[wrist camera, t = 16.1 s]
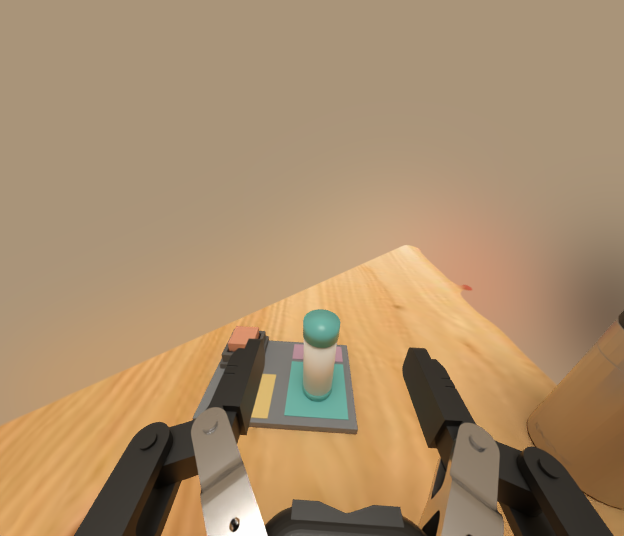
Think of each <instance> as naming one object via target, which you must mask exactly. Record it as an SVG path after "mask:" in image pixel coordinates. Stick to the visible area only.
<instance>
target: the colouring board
mask: <svg viewBox="0 0 624 536" xmlns="http://www.w3.org/2000/svg"><path fill="white" fill-rule="evenodd" d="M234 330H235V329H234ZM233 332H234V331H233ZM232 334H233V333H232ZM231 336H232V335H231ZM230 338H231V337H230ZM258 339H263V343H264V352H265V366H264V371H263V374H262V378H261V382H260V386H259V389H258V393H257V397H256V401H255V405H254V408H253V412H252V416H251V420H250V423H249V427H262V428H276V429H291V430H305V431H319V432H334V433H348V434H357V430H358V428H357V421H356V413H355V405H354V398H353V390H352V382H351V374H350V367H349V359H348V351H347V346H346V345H337V346H336V355H335V363H334V371H333V379H332V391H331V394H330V396H329V397H328V398H327V399H326V400H324V401H321V402H314V401H311V400H309V399H308V398H307V397H306V396H305V395H304V393H303V389H302V382H303V356H304V343H299V342H283V341H269V336H266V334H265V331H259V337H258ZM229 340H230V339H229ZM228 342H229V341H228ZM234 352H235V351H229V347H228V343H227V345H226V347H225V349H224V351H223V353H222V359H221V361H220V363H219V365H218V367H217V369H216V371H215V373H214V375H213V377H212V380H211V382H210V384H209V386H208V388H207V390H206V392H205V394H204V396H203V398H202V400H201V402H200V404H199V406H198V408H197V410H196V412H195V414H194V416H193V420H194V419H196V418H197V417H198V416H199V415H200V414H201V413H202V412H204V411H205V410H206V409H207V407H208V406H209V404H210V402H211V400H212V397H213V395H214V393H215V390H216V388H217V386H218V384H219V381H220V379H221V377H222V375H223V372H224V370H225V368H226V367H227V363H228V361H229V359H230V356H231V355H232V354H233V353H234Z"/></svg>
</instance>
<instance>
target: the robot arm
mask: <svg viewBox="0 0 624 536" xmlns="http://www.w3.org/2000/svg"><path fill="white" fill-rule="evenodd" d="M264 366H265V352H264V343H263V339H251V338H249V339H248V341H247V344H246V346H245V348H238V349H237V350H236V351H235V352H234V353H233V354H232V355H231V356H230V359H229V361H228V363H227V367H226V368H225V370H224V372H223V375H222V377H221V379H220V381H219V384H218V386H217V388H216V390H215V393H214V395H213V397H212V400H211V402H210V404H209V406H208V407H207V409H206V410H205V411H204V412H202V413H201V414H200V415H199V416H198V417H197V418H196V419H194V420H192V421H189V422H186V423H183V424H179V425H176V426H172V427H168V426H167V425H166V424H165V423H162V422H156V423H152V424H150V425H148V426H146V427H144V428H143V429H141V430H140V431H139V432H138V433H137V434H136V435H135V436H134V437H133V439H132V440H131V442H130V443H129V445H128V447H127V448H126V450H125V452H124V453H123V455H122V457H121V458H120V460H119V462H118V463H117V465H116V467H115V468H114V470H113V472H112V473H111V475H110V477H109V478H108V480H107V482H106V483H105V485H104V487H103V488H102V490H101V492H100V493H99V495H98V497H97V498H96V500H95V502H94V503H93V505H92V507H91V508H90V510H89V512H88V513H87V515H86V517H85V518H84V520H83V522H82V523H81V525H80V527H79V528H78V530H77V532H76V533H75V535H74V536H161V534H162V531H163V529H164V526H165V523H166V521H167V518H168V515H169V513H170V510H171V507H172V505H173V502H174V499H175V497H176V494H177V492H178V489H179V486H180V484H181V481H182V480H185V479H188V478H190V477H193V476H196V475H199V479H200V485H201V504H202V510H203V515H204V521H205V526H206V532H207V536H504V522H503V517H502V515H501V514H500V513H499V512H498V510H497V501H498V502H499V503H500V505H501V508H502V510H503V512H504V514H505V516H506V519H507V521H508V523H509V525H510V527H511V530H512V532H513V534H514V536H613V534H612V533H611V531H610V530H609V529H608V527H607V526H606V524H605V523H604V522H603V520H602V519H601V517H600V516H599V515H598V513H597V512H596V510H595V509H594V507H593V506H592V505H591V503H590V502H589V500H588V499H587V498H586V496H585V495H584V493H583V492H585V493H586V494H588V495H590V496H591V497H593V498H595V499H596V500H599V501H601V502H603V503H605V504H607V505H610V506H613V507H617V508H620V509H624V311H623V312H622V313H621V314H620V315H619V317H618V318H617V319H616V320H615V321H614V322H613V324H612V325H611V326H610V327H609V328H608V329H607V330H606V332H605V333H604V334H603V335H602V336H601V337H600V338H599V339H598V341H597V342H596V343H595V344H594V345H593V346H592V348H591V349H590V350H589V351H588V352H587V353H586V354H585V355H584V356H583V358H582V359H581V360H580V361H579V362H578V363H577V364H576V365H575V367H574V368H573V369H572V370H571V371H570V372H569V373H568V374H567V375H566V377H565V378H564V379H563V380H562V381H561V382H560V383H559V384H558V385H557V387H556V388H555V389H554V390H553V391H552V392H551V393H550V394H549V396H548V397H547V398H546V399H545V400H544V401H543V402H542V403H541V404H540V405H539V407H538V408H537V409H536V410H535V411H534V412H533V413H532V414H531V416H530V417H529V419H528V422H527V427H528V432H529V434H530V437H531V439H532V441H533V443H534V444H535V446H536V447H537V448H536V447H527V448H526V449H525V450H524V451H520V450H517V449H515V448H512V447H509V446H507V445H504V444H502V443H499V442H497V441H495V440H494V439H493V438H492V437H491V435H490V434H489V433H488V432H486V431H485V430H484V429H483V428H481V427H479V426H478V425H476V423H475V422H474V420H473V418H472V416H471V415H470V413H469V411H468V409H467V407H466V406H465V404H464V402H463V400H462V398H461V397H460V395H459V393H458V391H457V389H455V386H454V384H453V382H452V380H450V377H449V375H448V373H447V371H446V369H445V368H444V367H443V366H442V365H441V364H440V363H439V362H438V361H437V360H436V359H431V358H430V356H429V354H428V352H427V350H426V349H425V348H409V350H408V352H407V355H406V358H405V361H404V364H403V377H404V380H405V383H406V386H407V389H408V391H409V394H410V397H411V400H412V403H413V406H414V408H415V411H416V414H417V417H418V420H419V423H420V426H421V428H422V431H423V434H424V437H425V440H426V443H427V445H428V448H437V449H438V452H439V454H440V457H439V459H438V463H437V467H436V470H435V474H434V478H433V482H432V486H431V490H430V494H429V498H428V501H427V504H426V506H425V509H424V511H423V513H422V516H421V519H420V523H419V526H417V525H415V524H414V523H413V522H412V521H410V520H408V519H407V518H405V517H403V516H402V514H401V509H400V507H393V506H379V505H372V506H369V507H366V508H363V509H360V510H357V511H354V512H351V513H344V512H342V511H339V510H337V509H335V508H333V507H330V506H328V505H326V504H324V503H322V502H319V501H308V500H294V499H293V502H292V507H290V508H287V509H285V510H283V511H281V512H279V513H278V514H277V515H275V516H274V517H273V518H272V519H271V520H270V521H269V522H268V523H267V524H266V525H265V526H264V524H263V521H262V518H261V515H260V512H259V509H258V506H257V503H256V500H255V497H254V494H253V491H252V488H251V485H250V482H249V479H248V476H247V473H246V470H245V467H244V464H243V461H242V459H241V456H240V453H239V450H238V447H237V443H238V439H239V436H240V435H247V431H248V427H249V423H250V420H251V416H252V412H253V408H254V405H255V401H256V397H257V393H258V389H259V386H260V382H261V378H262V374H263V371H264ZM582 491H583V492H582Z"/></svg>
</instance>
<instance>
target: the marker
mask: <svg viewBox="0 0 624 536" xmlns="http://www.w3.org/2000/svg"><path fill="white" fill-rule="evenodd" d="M339 329H340V320H339V318H338V316H337V315H336V314H334V313H333V312H331V311H328V310H313V311H311V312H309V313H307V314H306V315H305V317H304V321H303V337H304V356H303V382H302V389H303V393H304V395H305V396H306V397H307V398H308V399H309V400H311V401H314V402H321V401H324V400H326V399H327V398H328V397H329V396H330V394H331V391H332V379H333V371H334V363H335V355H336V346H337V340H338V337H339Z"/></svg>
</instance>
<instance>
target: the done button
mask: <svg viewBox="0 0 624 536" xmlns="http://www.w3.org/2000/svg"><path fill="white" fill-rule="evenodd" d="M258 337H259V328H258V327H242V326H236V328H235V330H234V332H233V334H232V336H231V338H230V340H229V342H228V347H229V351H236V350H237V349H238V348H245V346H246V344H247V341H248V339H249V338H251V339H258Z"/></svg>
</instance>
